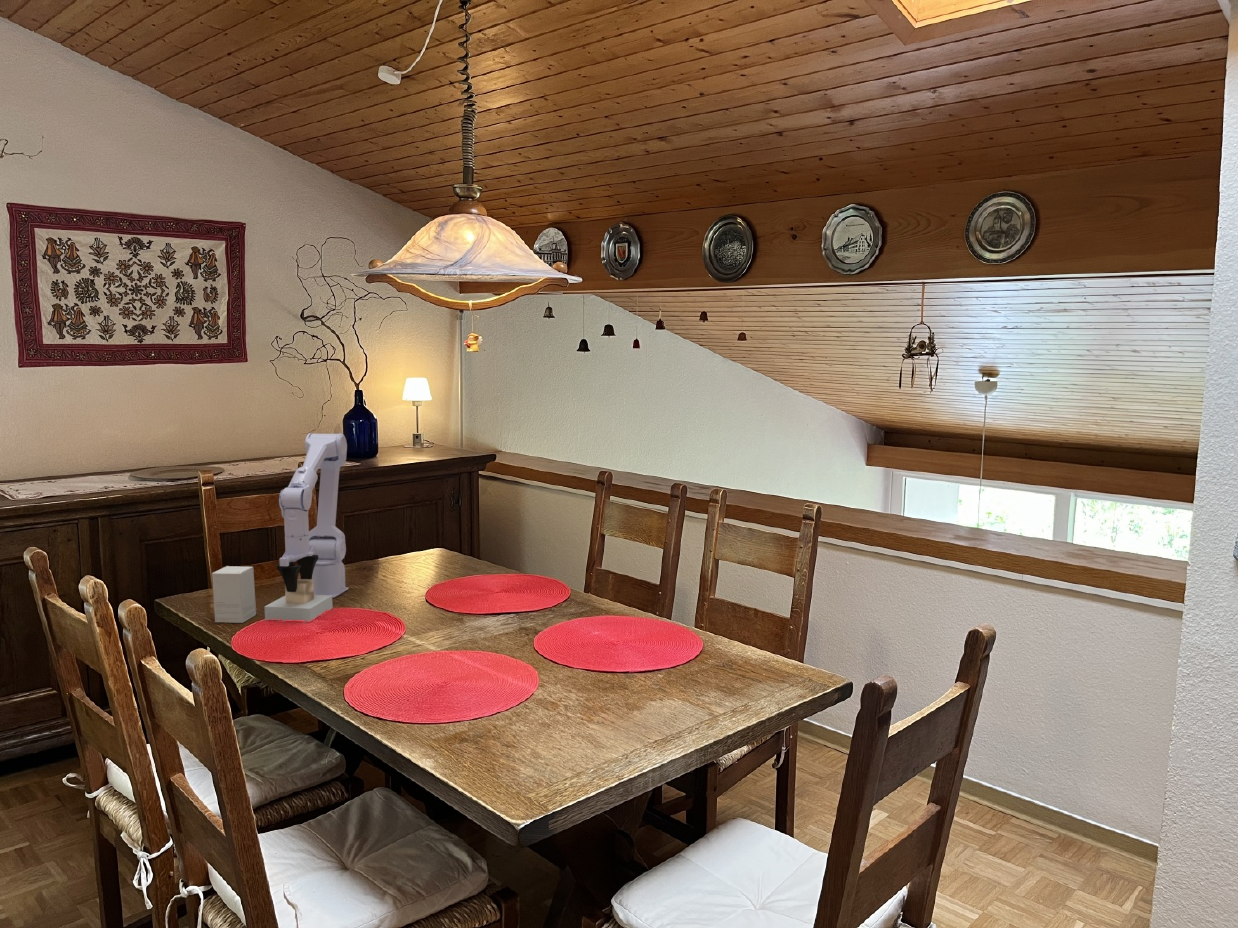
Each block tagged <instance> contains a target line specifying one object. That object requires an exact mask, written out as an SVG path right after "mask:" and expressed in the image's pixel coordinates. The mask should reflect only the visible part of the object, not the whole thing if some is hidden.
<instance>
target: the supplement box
mask: <svg viewBox="0 0 1238 928" xmlns="http://www.w3.org/2000/svg"><path fill="white" fill-rule="evenodd" d="M211 577H212V594H213V609H214V610H213V612H214V622H215V623H229V624H230V623H232V624H233V623H234V624H243V623H245V622H247V621H249V620H250V619H252V618H253V617H255V616H256V615H257V607H256V606H257V605H256V591H255V590H256V588H255V574H254V566H236V565H235V566H230V565H226V566H223V567H222V568H220V569H218V570H216V571H213V572H212V573H211Z"/></svg>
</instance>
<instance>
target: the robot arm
mask: <svg viewBox="0 0 1238 928" xmlns="http://www.w3.org/2000/svg"><path fill="white" fill-rule="evenodd" d="M304 451H305V454H306V456H305V458H304V461H303V464H302V466H300V467H298V468H297V469H295V472H294V473H293V476H292V478H291V480H290V482H289V484H288V486H287V487H285V488H284V489H282V490H280V493H279V498H278V504H279V508H280V510H281V517H282V518H283V523H284V544H285V545H284V547H285V551H284V553H283V555H282V557H280V558H279V563H277V564H276V569H277V571H278V573H279V574H280V575H281V578H282V579H283V583H284V587H285V586H286V589H287V592H296V590H297V580H298V579H299V578H298V577H299V576H300V579H311V580H313V586H314V595H331V596H332V599H333V598H336V597H338V596H339V595H342V594H343V593H344V592H347V590H349V587H347V586H346V568H345V567H346V566H345V564H344V563H343V559H345V556H346V552H347V547H346V546H347V545H346V535H345V533H344V532H343V531H342V530H341V529H339V528H338V527H337V526H336V524H337V523H336V520H337V508H338V506H337V505H338V495H339V494H338V493H339V480H340V471H341V469H340V468H341V467H343V466H344V465H346V461H347V451H348V443H347V439H346V437H345V434H343V433H341V432H340V433H313V432H309V433H308V434H307V435H306V436H305V439H304ZM319 469H320V476H319V478H320V479H319V488H318V489H319V492H318V504H317V505H318V506H317V516H316V517H317V518H316V526H314V527H313V528H312V529H311V530H310V529H309V525H310V524H309V510H310V508H311V506H312V501H313V500H312V498H313V490H314V488H315V485H316V484H317V481H318V474H317V472H318V471H319ZM294 562H296V563H297V564H295V563H294Z"/></svg>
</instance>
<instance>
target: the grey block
mask: <svg viewBox="0 0 1238 928" xmlns="http://www.w3.org/2000/svg"><path fill="white" fill-rule="evenodd" d="M332 608H334V607H333V598H332V596H331V595H314V599H313V600H311V601H309V602H307V603H306V604H292V603H286V596H285V595H284V596H281V597H280V598H278V599H276V600H274V601H272V602H271V603H269V604H266V605H265V606H264V621H266V620H270V619H272V620H273V619H276V620H279V619H282V620H304V621H311V620H312V619H315V618H316V617H317V616H318V615H321V614H322V613H323V612H325V611H326V610H330V609H332ZM332 610H333V609H332ZM330 611H331V610H330Z"/></svg>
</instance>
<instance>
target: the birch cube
mask: <svg viewBox="0 0 1238 928" xmlns="http://www.w3.org/2000/svg"><path fill="white" fill-rule="evenodd" d="M284 591H285V592H284V593H285V595H284V596H286V603H292V604H306V603H307V602H309V601H311V600H313V599H314V586H313V580H311V579H301V578H298V580H297V590H296V592H287V589H286V586H285V585H284Z"/></svg>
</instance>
